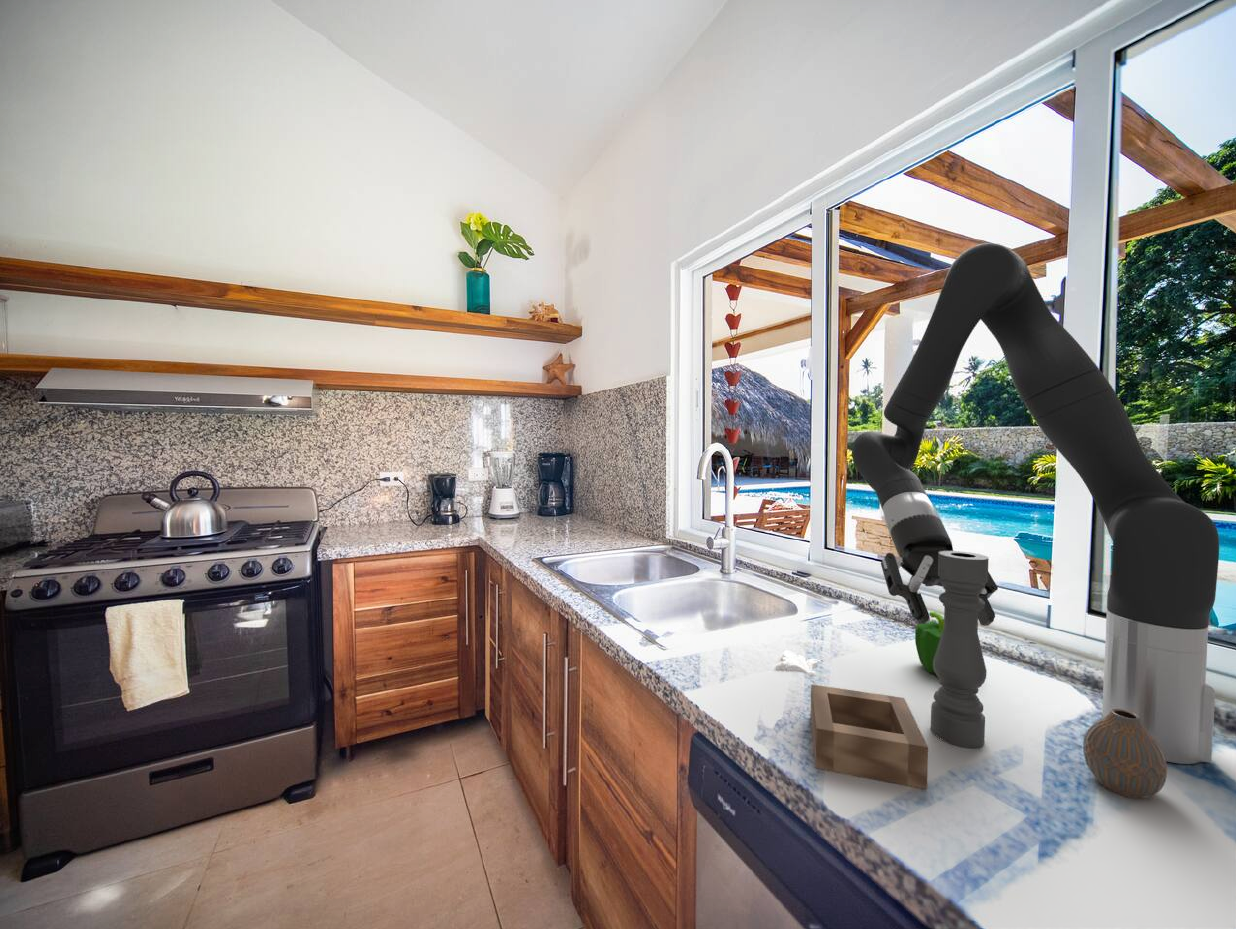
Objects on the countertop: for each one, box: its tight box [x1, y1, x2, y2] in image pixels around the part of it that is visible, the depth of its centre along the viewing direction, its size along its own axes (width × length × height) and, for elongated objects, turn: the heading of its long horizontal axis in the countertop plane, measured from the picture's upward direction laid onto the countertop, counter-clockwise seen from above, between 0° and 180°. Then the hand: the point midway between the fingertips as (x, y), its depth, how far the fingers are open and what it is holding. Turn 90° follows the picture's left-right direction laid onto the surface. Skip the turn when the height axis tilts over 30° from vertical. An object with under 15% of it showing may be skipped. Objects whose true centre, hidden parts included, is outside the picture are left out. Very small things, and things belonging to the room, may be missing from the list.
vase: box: [1082, 709, 1168, 799], centre depth 59 cm, size 7×7×9 cm
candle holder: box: [930, 550, 990, 749], centre depth 69 cm, size 6×6×25 cm
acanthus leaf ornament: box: [775, 649, 822, 677], centre depth 91 cm, size 8×7×2 cm
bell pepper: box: [914, 611, 944, 675], centre depth 89 cm, size 8×8×10 cm
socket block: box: [809, 683, 929, 790], centre depth 65 cm, size 12×12×5 cm
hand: (956, 622), depth 69 cm, fingers open, 8 cm apart
